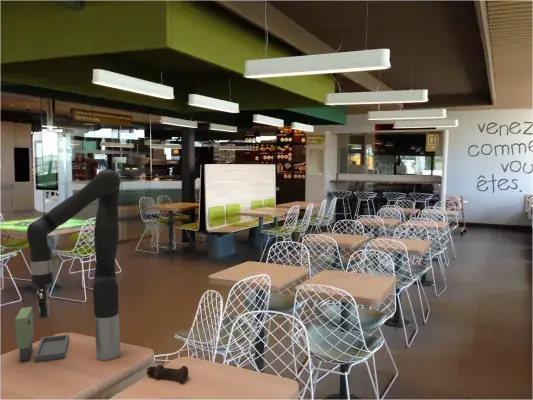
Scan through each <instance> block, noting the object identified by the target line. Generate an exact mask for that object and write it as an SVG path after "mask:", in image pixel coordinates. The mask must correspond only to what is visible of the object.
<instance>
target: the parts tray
mask: <svg viewBox="0 0 533 400" xmlns="http://www.w3.org/2000/svg"><path fill="white" fill-rule="evenodd" d="M69 342H70V334H61V335H53V336H52V335H51V336H45V337H43V336H42V337H40V341H39V343H38V346H37V348H36V351H35V353H34V355H33V356H34V359H33V361H34V363H43V362H50V361H56V360H57V361H58V360H65V359H66V357H67V352H68V351H67V350H68V346H69ZM64 358H65V359H64Z"/></svg>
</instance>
